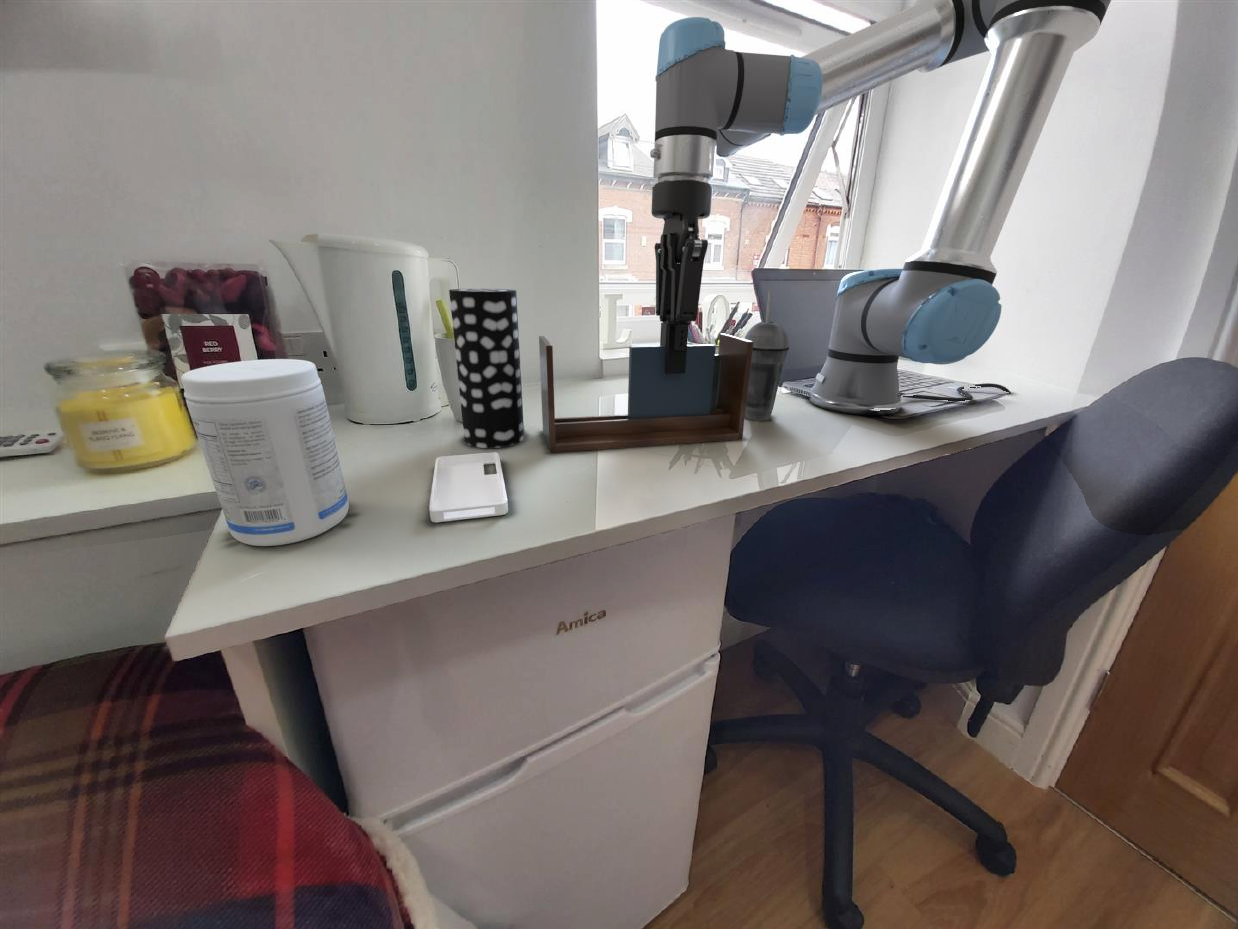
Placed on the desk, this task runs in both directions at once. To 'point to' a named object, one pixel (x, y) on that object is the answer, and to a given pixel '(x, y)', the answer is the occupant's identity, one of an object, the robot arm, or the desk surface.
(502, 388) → the white-spotted black cylinder
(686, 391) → the book
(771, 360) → the beverage cup
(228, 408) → the supplement tub
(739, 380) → the wooden desk organizer
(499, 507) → the phone case
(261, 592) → the desk surface
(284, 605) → the desk surface
